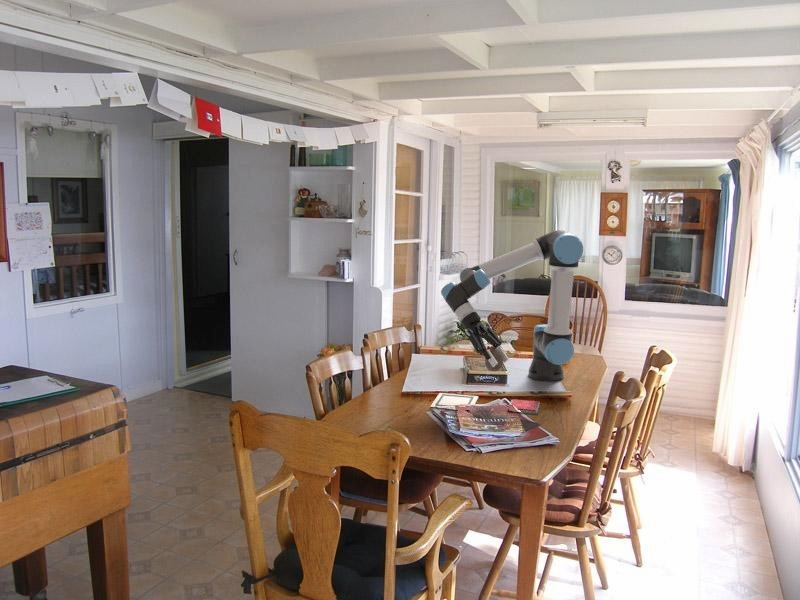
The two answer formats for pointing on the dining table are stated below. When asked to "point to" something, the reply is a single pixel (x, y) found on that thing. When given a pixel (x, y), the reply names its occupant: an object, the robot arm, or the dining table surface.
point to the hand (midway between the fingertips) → (501, 362)
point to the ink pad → (526, 406)
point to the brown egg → (498, 359)
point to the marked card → (453, 399)
